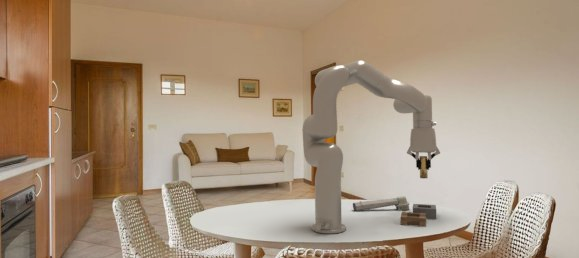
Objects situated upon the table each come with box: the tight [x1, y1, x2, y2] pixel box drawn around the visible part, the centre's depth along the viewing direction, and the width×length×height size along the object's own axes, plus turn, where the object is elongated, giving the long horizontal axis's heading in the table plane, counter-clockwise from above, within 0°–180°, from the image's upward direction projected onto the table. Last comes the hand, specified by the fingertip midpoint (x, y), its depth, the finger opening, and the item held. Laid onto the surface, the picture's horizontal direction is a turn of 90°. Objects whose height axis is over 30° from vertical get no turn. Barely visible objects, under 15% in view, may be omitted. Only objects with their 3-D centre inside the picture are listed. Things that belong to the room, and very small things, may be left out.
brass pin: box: [419, 155, 429, 179], centre depth 153 cm, size 3×3×9 cm
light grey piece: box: [352, 195, 410, 212], centre depth 166 cm, size 5×7×25 cm
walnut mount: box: [400, 211, 427, 227], centre depth 142 cm, size 9×9×3 cm
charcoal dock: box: [412, 203, 437, 220], centre depth 153 cm, size 9×9×4 cm
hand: (423, 169), depth 153 cm, fingers closed on brass pin, 3 cm apart
